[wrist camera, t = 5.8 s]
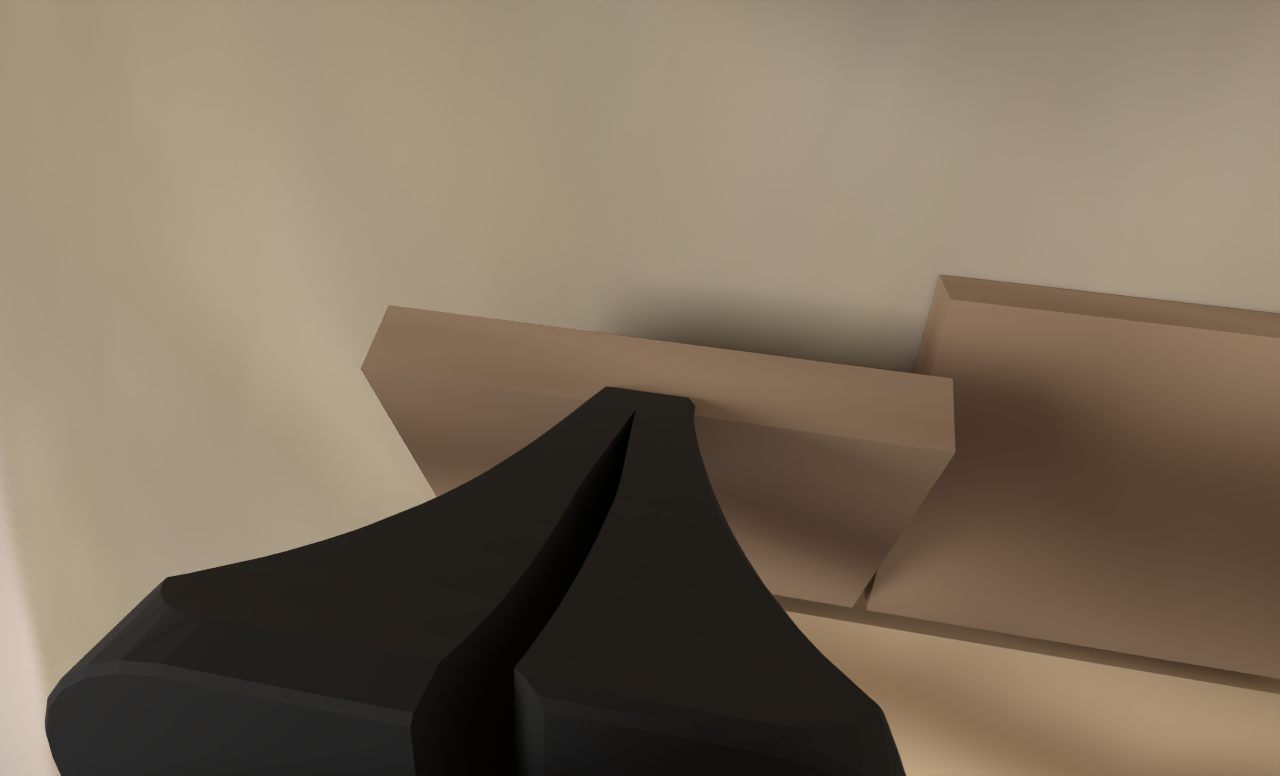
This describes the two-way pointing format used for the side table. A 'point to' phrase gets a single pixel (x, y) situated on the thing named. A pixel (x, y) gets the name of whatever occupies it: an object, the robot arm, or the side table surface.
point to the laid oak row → (1043, 701)
